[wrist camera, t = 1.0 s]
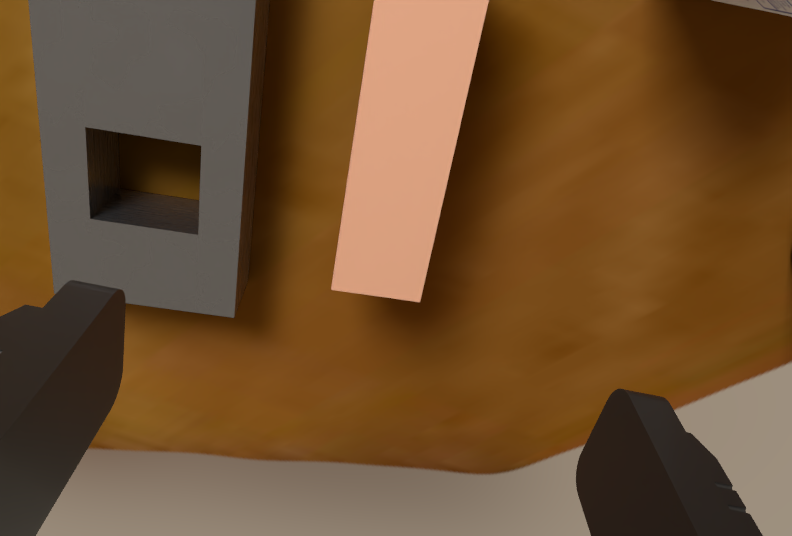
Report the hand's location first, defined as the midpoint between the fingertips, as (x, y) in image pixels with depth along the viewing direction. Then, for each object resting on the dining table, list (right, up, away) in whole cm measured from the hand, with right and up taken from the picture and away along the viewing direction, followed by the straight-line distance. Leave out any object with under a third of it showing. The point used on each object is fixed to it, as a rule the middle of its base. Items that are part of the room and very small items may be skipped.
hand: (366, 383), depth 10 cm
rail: (-9, +11, +17) cm, 22 cm away
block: (+1, +10, +18) cm, 20 cm away
